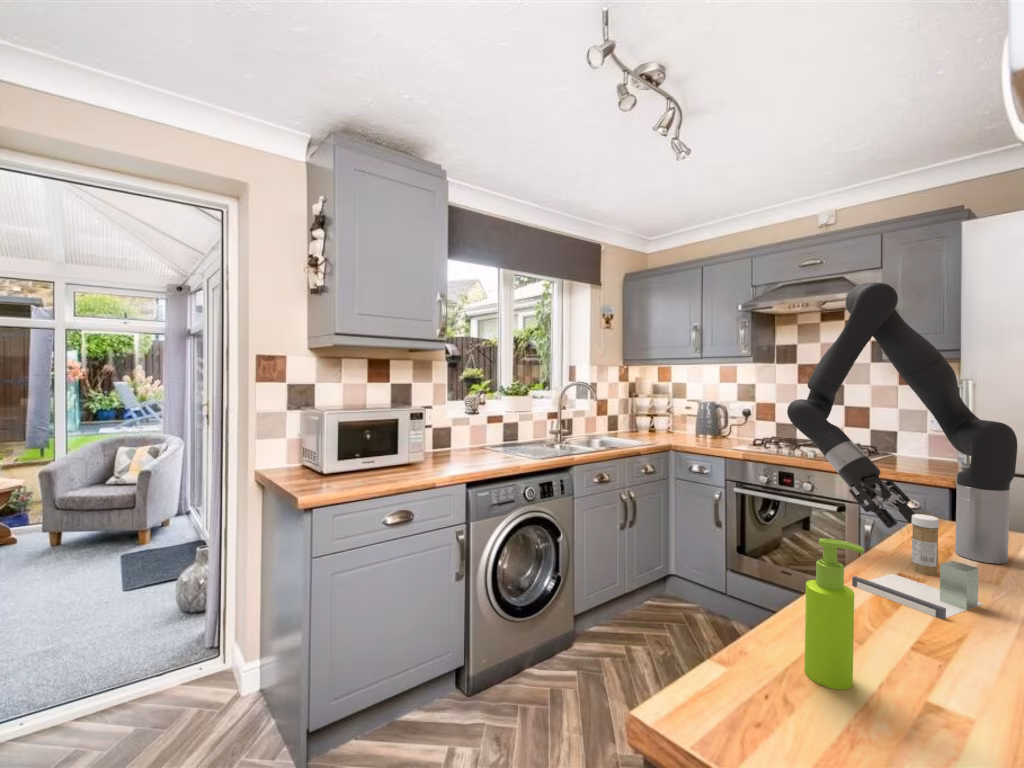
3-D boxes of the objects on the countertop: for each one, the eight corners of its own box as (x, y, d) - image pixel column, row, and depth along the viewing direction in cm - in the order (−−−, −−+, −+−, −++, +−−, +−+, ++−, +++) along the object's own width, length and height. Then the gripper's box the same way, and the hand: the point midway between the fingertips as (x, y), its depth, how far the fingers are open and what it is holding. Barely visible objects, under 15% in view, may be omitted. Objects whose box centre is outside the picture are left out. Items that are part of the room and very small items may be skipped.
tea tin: (950, 596, 94) (951, 560, 94) (977, 605, 90) (978, 568, 90) (939, 600, 92) (940, 563, 92) (966, 610, 88) (967, 571, 88)
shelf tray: (892, 580, 105) (892, 565, 104) (982, 611, 91) (983, 594, 91) (851, 592, 99) (851, 577, 99) (942, 627, 85) (942, 609, 85)
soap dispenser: (863, 697, 66) (865, 552, 66) (804, 680, 70) (806, 542, 70) (859, 675, 71) (862, 539, 71) (804, 660, 75) (807, 531, 75)
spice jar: (939, 578, 106) (940, 516, 106) (936, 584, 103) (938, 520, 103) (912, 571, 109) (913, 512, 109) (908, 577, 106) (910, 516, 106)
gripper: (845, 457, 114) (899, 519, 104) (881, 453, 120) (936, 511, 110) (822, 475, 119) (872, 536, 109) (858, 470, 125) (908, 528, 115)
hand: (904, 523), depth 109 cm, fingers open, 8 cm apart
